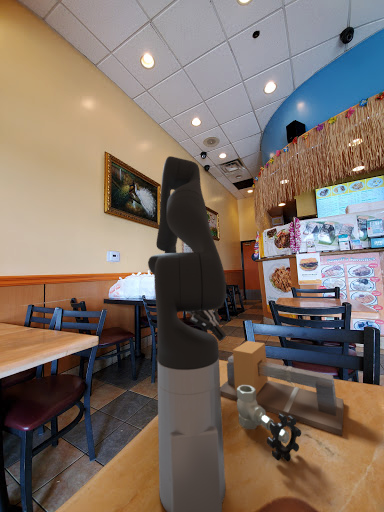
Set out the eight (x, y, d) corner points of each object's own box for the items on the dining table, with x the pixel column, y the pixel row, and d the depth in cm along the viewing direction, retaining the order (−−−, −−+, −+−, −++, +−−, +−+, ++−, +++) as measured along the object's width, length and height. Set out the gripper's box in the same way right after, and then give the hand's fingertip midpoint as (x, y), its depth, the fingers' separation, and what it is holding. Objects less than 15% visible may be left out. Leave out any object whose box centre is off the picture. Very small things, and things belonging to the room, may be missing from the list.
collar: (235, 390, 51) (232, 350, 53) (250, 375, 59) (247, 340, 60) (254, 396, 48) (251, 353, 50) (267, 380, 56) (264, 343, 57)
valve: (228, 422, 42) (273, 470, 31) (227, 388, 43) (269, 422, 32) (254, 413, 45) (303, 454, 34) (252, 381, 46) (299, 410, 35)
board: (217, 393, 53) (217, 389, 53) (237, 376, 62) (237, 372, 63) (341, 435, 37) (341, 429, 38) (343, 403, 47) (343, 398, 47)
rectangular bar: (227, 384, 56) (226, 358, 57) (234, 378, 59) (233, 354, 60) (335, 416, 41) (331, 380, 42) (336, 406, 44) (333, 373, 45)
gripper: (181, 287, 62) (219, 335, 53) (205, 286, 73) (240, 325, 64) (168, 305, 65) (203, 353, 56) (194, 301, 75) (226, 341, 66)
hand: (223, 338), depth 60 cm, fingers closed
